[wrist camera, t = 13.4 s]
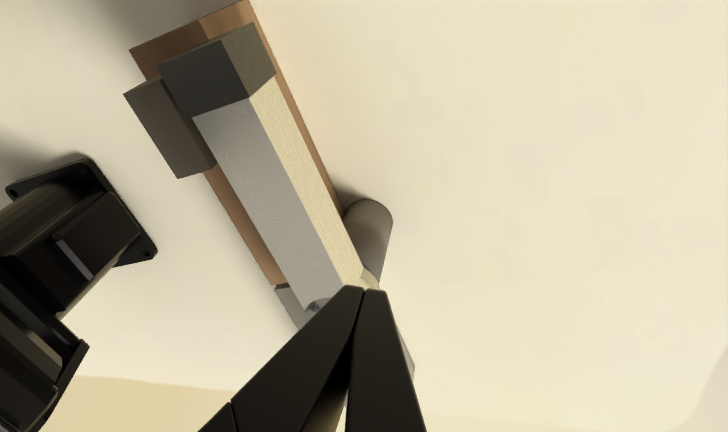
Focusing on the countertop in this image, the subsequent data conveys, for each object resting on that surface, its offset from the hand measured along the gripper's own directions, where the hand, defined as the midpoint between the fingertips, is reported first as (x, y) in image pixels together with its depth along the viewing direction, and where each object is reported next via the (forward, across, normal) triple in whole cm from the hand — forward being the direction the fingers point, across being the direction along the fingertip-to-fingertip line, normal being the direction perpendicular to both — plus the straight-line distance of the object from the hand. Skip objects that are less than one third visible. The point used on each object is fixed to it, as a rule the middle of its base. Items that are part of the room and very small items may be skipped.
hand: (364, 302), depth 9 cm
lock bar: (+7, +3, +2) cm, 8 cm away
